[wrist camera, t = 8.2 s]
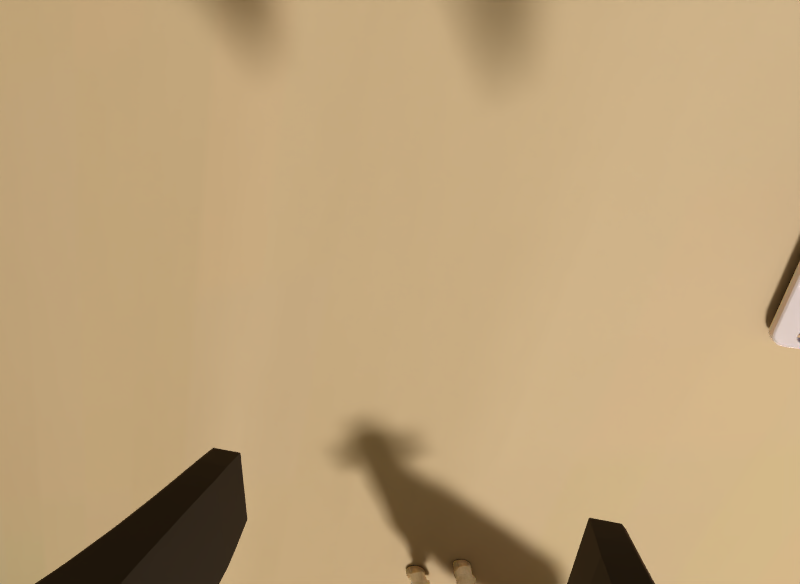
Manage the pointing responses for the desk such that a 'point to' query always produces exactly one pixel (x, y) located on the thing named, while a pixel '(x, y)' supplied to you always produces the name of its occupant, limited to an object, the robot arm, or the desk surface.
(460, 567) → the bull figurine
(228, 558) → the robot arm
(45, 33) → the desk surface
